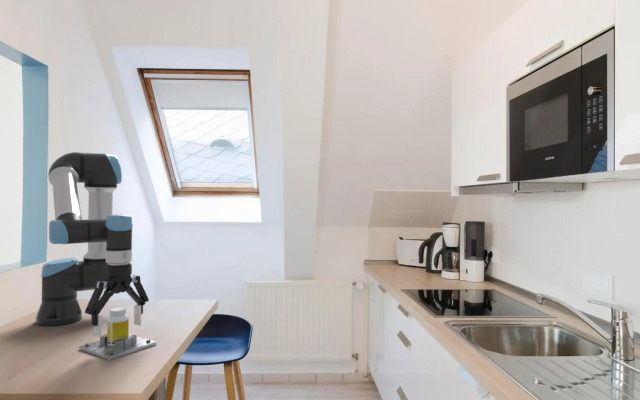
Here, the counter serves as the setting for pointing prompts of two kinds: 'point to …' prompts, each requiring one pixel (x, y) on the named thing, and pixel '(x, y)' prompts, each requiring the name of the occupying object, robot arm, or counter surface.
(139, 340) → the collar
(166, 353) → the counter surface
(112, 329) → the pill bottle
